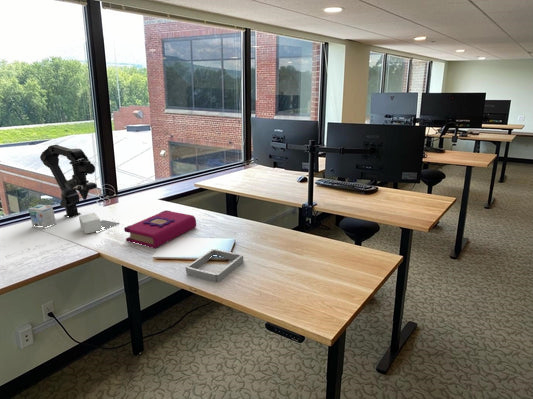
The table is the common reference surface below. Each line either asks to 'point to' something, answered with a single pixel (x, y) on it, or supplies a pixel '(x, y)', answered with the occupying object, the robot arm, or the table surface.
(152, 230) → the book
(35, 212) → the light bulb box
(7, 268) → the table surface
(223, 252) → the frame
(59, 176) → the robot arm
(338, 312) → the table surface
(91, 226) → the small box
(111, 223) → the mat
